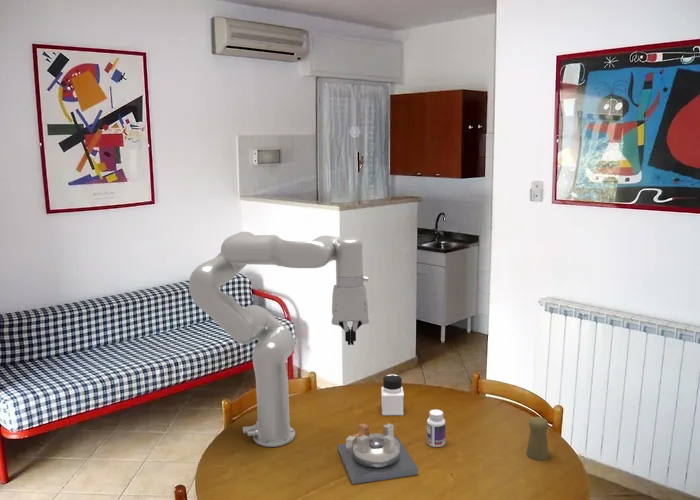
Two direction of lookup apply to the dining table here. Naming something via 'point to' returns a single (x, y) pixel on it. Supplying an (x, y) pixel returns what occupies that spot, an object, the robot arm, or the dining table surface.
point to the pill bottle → (436, 428)
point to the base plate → (370, 474)
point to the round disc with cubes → (376, 447)
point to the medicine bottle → (392, 395)
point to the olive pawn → (538, 439)
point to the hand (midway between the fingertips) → (350, 343)
